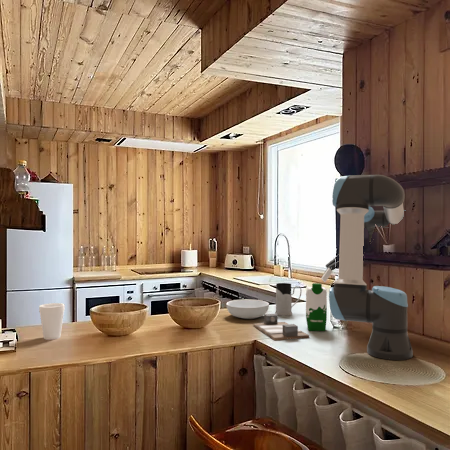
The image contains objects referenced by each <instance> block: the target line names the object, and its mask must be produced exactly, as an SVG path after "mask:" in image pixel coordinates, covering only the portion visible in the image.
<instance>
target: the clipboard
mask: <svg viewBox="0 0 450 450" xmlns="http://www.w3.org/2000/svg"><path fill="white" fill-rule="evenodd" d="M278 316H279V315H277V314H275V313H265V314H264V315H263V322H262V323H261V322H260V323H253V324H252V325H253V327H254V328H256V329H257V330H259V331H260V332H261V333H263V334H265V335H266V336H267V337H269V338H270V339H272V340H274V341H284V340H297V339H309V338H310V335H309V334H308V333H306V332H304V331H302V330H300V329H299V326H298V325H296V324H294V323H287V322H286V321H278V318H279V317H278Z"/></svg>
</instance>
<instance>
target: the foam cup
mask: <svg viewBox="0 0 450 450" xmlns="http://www.w3.org/2000/svg"><path fill="white" fill-rule="evenodd" d="M65 306H66V305H65V304H64V303H62V302H60V303H59V302H54V303H52V302H51V303H43V304H40V305H39V306H38V307H39V309H38V310H39V311H38V312H39V314H40V323H41V331H42V335H43V340H47V341H49V340H51V341H52V340H58V339H60V338H61V337H62V335H61V334H62V328H63V322H64V321H63V320H64V313H65V311H66V310H65V309H66V307H65Z"/></svg>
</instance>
